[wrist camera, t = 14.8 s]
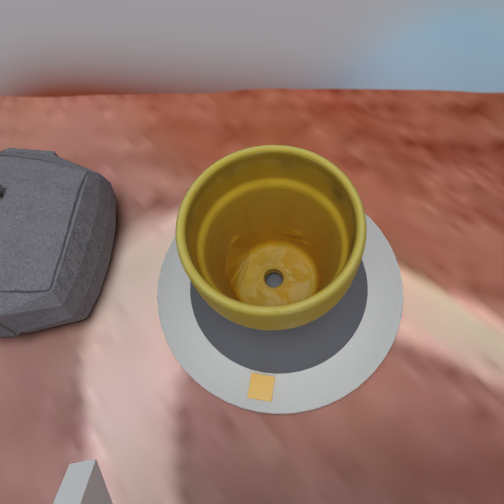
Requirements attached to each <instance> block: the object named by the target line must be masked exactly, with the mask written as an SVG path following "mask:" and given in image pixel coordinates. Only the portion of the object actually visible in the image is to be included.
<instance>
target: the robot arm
mask: <svg viewBox="0 0 504 504" xmlns="http://www.w3.org/2000/svg"><path fill="white" fill-rule="evenodd" d="M53 504H113V503H112V500H111V498H110V495H109V492H108V490H107V487H106V484H105V482H104V479H103V476H102V474H101V471H100V468H99V466H98V463H97V460H96V459H93V460H88V461H83V462H78V463H72V464H69V467H68V469H67V472H66V474H65V476H64V479H63V481H62V484H61V486H60V488H59V491H58V493H57V496H56V498H55V500H54V503H53Z"/></svg>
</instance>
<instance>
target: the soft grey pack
mask: <svg viewBox="0 0 504 504" xmlns="http://www.w3.org/2000/svg"><path fill="white" fill-rule="evenodd" d="M115 229H116V196H115V194H114V191H113V189H112V186H111V183H110V182H109V181H108V180H106V179H105V178H104V177H103V176H102V175H101V174H99V173H97V172H94V171H92V170H89V169H87V168H85V167H82V166H80V165H77V164H75V163H72V162H70V161H67V160H65V159H63V158H60V157H59V156H58V155H57V154H56V153H55V152H54V151H42V150H29V149H15V148H8V149H5V150H3V151H2V152H0V337H15V336H17V335H18V334H20V333H21V332H22V333H30V332H34V331H38V330H42V329H47V328H51V327H55V326H59V325H63V324H67V323H72V322H76V321H80V320H83V319H85V318H86V317H87V316H89V314H90V312H91V310H92V308H93V306H94V304H95V302H96V300H97V298H98V296H99V294H100V291H101V288H102V284H103V281H104V278H105V275H106V272H107V269H108V266H109V263H110V257H111V252H112V247H113V241H114V236H115Z"/></svg>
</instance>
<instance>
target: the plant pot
mask: <svg viewBox="0 0 504 504" xmlns="http://www.w3.org/2000/svg"><path fill="white" fill-rule="evenodd" d="M366 234H367V225H366V216H365V211H364V207H363V204H362V201H361V199H360V196H359V194H358V192H357V190H356V189H355V187H354V185H353V184H352V183H351V181H350V180H349V179H348V177H347V176H346V175H345V174H344V173H343V172H342V171H341V170H340V169H339V168H338V167H336V166H335V165H334V164H333V163H331V162H330V161H328V160H327V159H325V158H324V157H322V156H320V155H318V154H316V153H313V152H311V151H308V150H305V149H302V148H297V147H292V146H284V145H263V146H256V147H250V148H246V149H243V150H240V151H237V152H234V153H232V154H230V155H228V156H225V157H223V158H222V159H220V160H218V161H217V162H215V163H214V164H212V165H211V166H210V167H208V168H207V169H206V170H205V171H204V172H203V173H202V174H201V175H200V176H199V177H198V178H197V179H196V180H195V181H194V183H193V184H192V185H191V187H190V188H189V190H188V191H187V193H186V195H185V197H184V199H183V201H182V203H181V206H180V209H179V212H178V216H177V222H176V246H177V250H178V255H179V258H180V261H181V263H182V266H183V268H184V270H185V272H186V274H187V275H188V277H189V279H190V280H191V282H192V284H193V285H194V287H195V288H196V290H197V291H198V293H199V294H200V295H201V297H202V298H203V299H204V300H205V301H206V302H207V303H208V305H209V306H210V307H211V308H213V309H214V310H215V311H216V312H217V313H219V314H220V315H222V316H223V317H225V318H226V319H228V320H230V321H232V322H234V323H236V324H239V325H242V326H245V327H249V328H253V329H259V330H285V329H290V328H295V327H299V326H302V325H305V324H307V323H309V322H312V321H314V320H316V319H317V318H319V317H321V316H322V315H324V314H325V313H327V312H328V311H329V310H330V309H332V308H333V307H334V306H335V305H336V304H337V303H338V302H339V301H340V300H341V298H342V297H343V296H344V295H345V293H346V292H347V290H348V289H349V287H350V285H351V283H352V281H353V279H354V277H355V275H356V273H357V271H358V268H359V265H360V262H361V259H362V256H363V252H364V248H365V243H366ZM272 272H275V273H278V274H280V275H281V277H282V283H281V284H280V285H279V286H277V287H270V286H268V285H267V284H266V277H267V275H268V274H270V273H272Z"/></svg>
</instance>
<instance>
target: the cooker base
mask: <svg viewBox="0 0 504 504" xmlns="http://www.w3.org/2000/svg"><path fill="white" fill-rule="evenodd" d="M365 216H366V225H367V234H366V243H365V248H364V252H363V256H362V259H361V262H360V265H359V268H358V271H357V273H356V275H355V277H354V279H353V281H352V283H351V285H350V287H349V289H348V290H347V292H346V293H345V295H344V296H343V297H342V298H341V300H340V301H339V302H338V303H337V304H336V305H335V306H334V307H333V308H332V309H330V310H329V311H328V312H327V313H325V314H324V315H322V316H321V317H319V318H317V319H316V320H314V321H312V322H309V323H307V324H305V325H302V326H299V327H295V328H290V329H285V330H259V329H253V328H249V327H245V326H242V325H239V324H236V323H234V322H232V321H230V320H228V319H226V318H225V317H223V316H222V315H220V314H219V313H217V312H216V311H215V310H214V309H213V308H211V307H210V306H209V305H208V303H207V302H206V301H205V300H204V299H203V298H202V297H201V295H200V294H199V293H198V291H197V290H196V288H195V287H194V285H193V284H192V282H191V280H190V279H189V277H188V275H187V274H186V272H185V270H184V268H183V266H182V263H181V261H180V258H179V255H178V250H177V246H176V237H175V238H174V240H173V241H172V243H171V245H170V247H169V249H168V251H167V253H166V256H165V259H164V262H163V265H162V268H161V272H160V277H159V282H158V295H157V299H158V313H159V317H160V322H161V327H162V330H163V333H164V335H165V338H166V341H167V343H168V345H169V347H170V349H171V351H172V353H173V354H174V356H175V358H176V359H177V360H178V362H179V363H180V364H181V366H182V367H183V369H184V370H185V371H186V372H187V373H188V374H189V375H190V376H191V377H192V378H193V379H194V380H195V381H196V382H197V383H199V384H200V385H201V386H202V387H204V388H205V389H206V390H208V391H209V392H210V393H211V394H213V395H214V396H216V397H218V398H220V399H221V400H223V401H225V402H227V403H229V404H232V405H234V406H237V407H239V408H241V409H245V410H249V411H253V412H257V413H264V414H273V415H286V414H298V413H303V412H309V411H313V410H316V409H319V408H322V407H325V406H328V405H330V404H332V403H334V402H336V401H338V400H340V399H342V398H343V397H345V396H346V395H348V394H349V393H351V392H352V391H354V390H355V389H356V388H358V387H359V386H360V385H361V384H362V383H363V382H364V381H365V380H366V379H367V378H368V377H370V376H371V375H372V374H373V372H374V371H375V370H376V369H377V367H378V366H379V365H380V364H381V363H382V361H383V360H384V358H385V356H386V355H387V353H388V351H389V350H390V348H391V346H392V344H393V341H394V339H395V337H396V334H397V332H398V328H399V324H400V320H401V315H402V306H403V287H402V280H401V274H400V269H399V266H398V263H397V260H396V257H395V255H394V253H393V251H392V248H391V246H390V244H389V242H388V241H387V239H386V238H385V236H384V235H383V233H382V232H381V230H380V229H379V228H378V227H377V225H376V224H375V223H374V222H373V221H372V220H371V218H369V217H368V216H367V215H366V214H365ZM281 283H282V277H281V275H280V274H278V273H275V272H272V273H270V274H268V275H267V277H266V284H267V285H268V286H270V287H277V286H279V285H280V284H281Z"/></svg>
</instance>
